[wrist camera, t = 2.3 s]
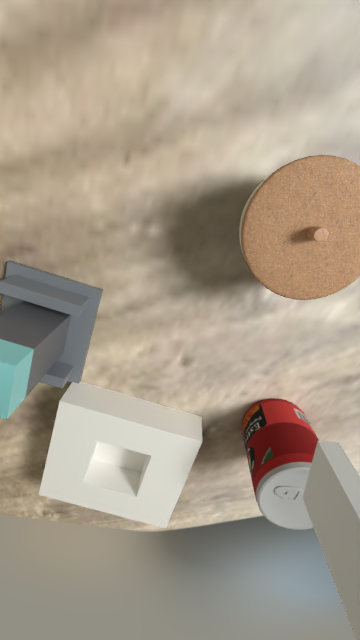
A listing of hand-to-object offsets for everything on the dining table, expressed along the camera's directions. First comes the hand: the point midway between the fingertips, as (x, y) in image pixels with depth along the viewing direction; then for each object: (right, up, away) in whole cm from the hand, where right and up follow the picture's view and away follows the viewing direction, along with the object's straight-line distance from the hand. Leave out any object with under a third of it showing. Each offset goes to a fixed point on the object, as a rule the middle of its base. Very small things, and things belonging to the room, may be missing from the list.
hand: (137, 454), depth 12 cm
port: (-6, -11, +30) cm, 32 cm away
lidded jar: (+12, +14, +20) cm, 28 cm away
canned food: (+13, -8, +28) cm, 32 cm away
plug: (-13, +4, +24) cm, 28 cm away
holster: (-13, +4, +24) cm, 28 cm away
